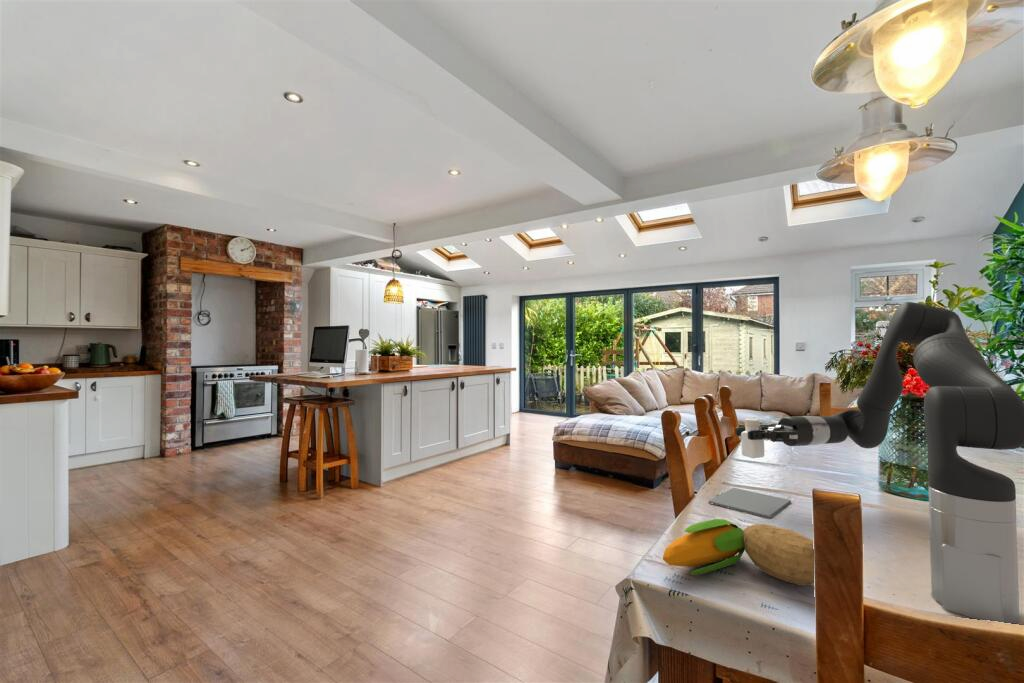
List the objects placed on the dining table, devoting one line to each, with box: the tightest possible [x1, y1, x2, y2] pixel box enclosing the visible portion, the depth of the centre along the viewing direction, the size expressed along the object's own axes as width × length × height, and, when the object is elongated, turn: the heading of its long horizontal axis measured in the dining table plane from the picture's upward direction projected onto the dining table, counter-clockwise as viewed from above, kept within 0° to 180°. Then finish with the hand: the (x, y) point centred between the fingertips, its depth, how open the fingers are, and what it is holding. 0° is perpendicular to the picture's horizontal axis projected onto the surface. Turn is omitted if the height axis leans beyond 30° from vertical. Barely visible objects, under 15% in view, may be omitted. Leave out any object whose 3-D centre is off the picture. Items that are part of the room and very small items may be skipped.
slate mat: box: [708, 487, 792, 519], centre depth 112 cm, size 16×14×1 cm
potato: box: [742, 523, 815, 586], centre depth 75 cm, size 10×14×8 cm
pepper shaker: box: [740, 418, 765, 459], centre depth 112 cm, size 4×4×10 cm
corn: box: [662, 518, 745, 576], centre depth 79 cm, size 7×8×20 cm
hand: (742, 433), depth 112 cm, fingers closed on pepper shaker, 4 cm apart
